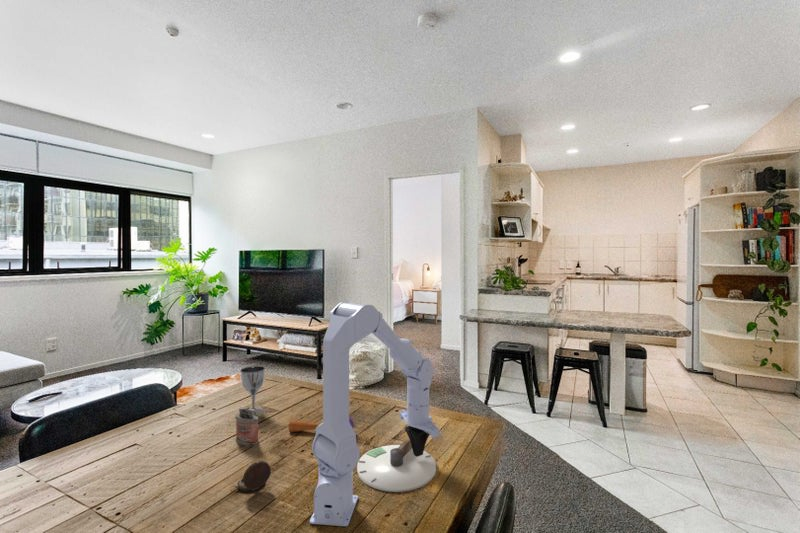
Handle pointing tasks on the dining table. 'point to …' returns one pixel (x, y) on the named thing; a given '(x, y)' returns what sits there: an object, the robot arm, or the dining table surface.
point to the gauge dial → (395, 470)
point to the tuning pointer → (400, 453)
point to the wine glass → (253, 382)
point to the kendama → (307, 425)
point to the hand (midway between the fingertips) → (418, 454)
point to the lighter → (247, 427)
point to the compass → (254, 477)
